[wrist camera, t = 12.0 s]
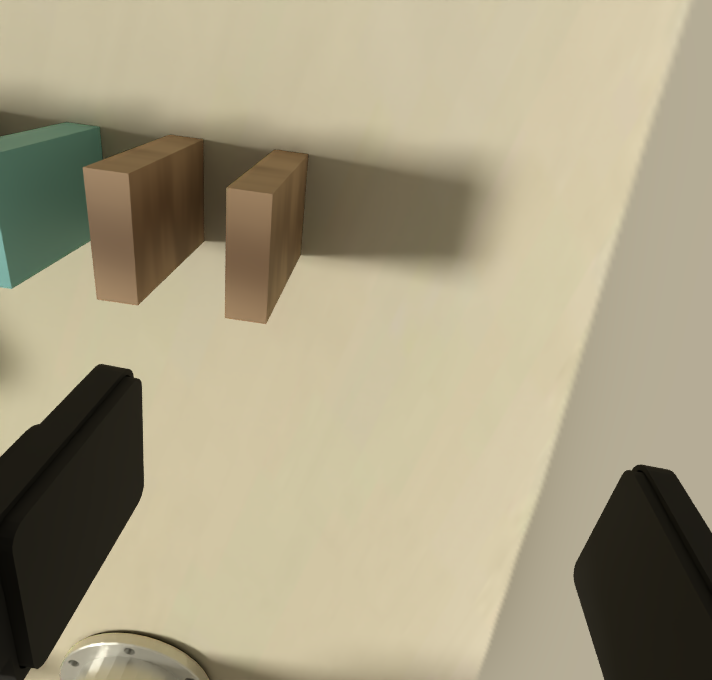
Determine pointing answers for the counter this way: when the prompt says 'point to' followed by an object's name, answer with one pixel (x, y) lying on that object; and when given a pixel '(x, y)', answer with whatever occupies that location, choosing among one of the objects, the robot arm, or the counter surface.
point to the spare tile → (43, 197)
